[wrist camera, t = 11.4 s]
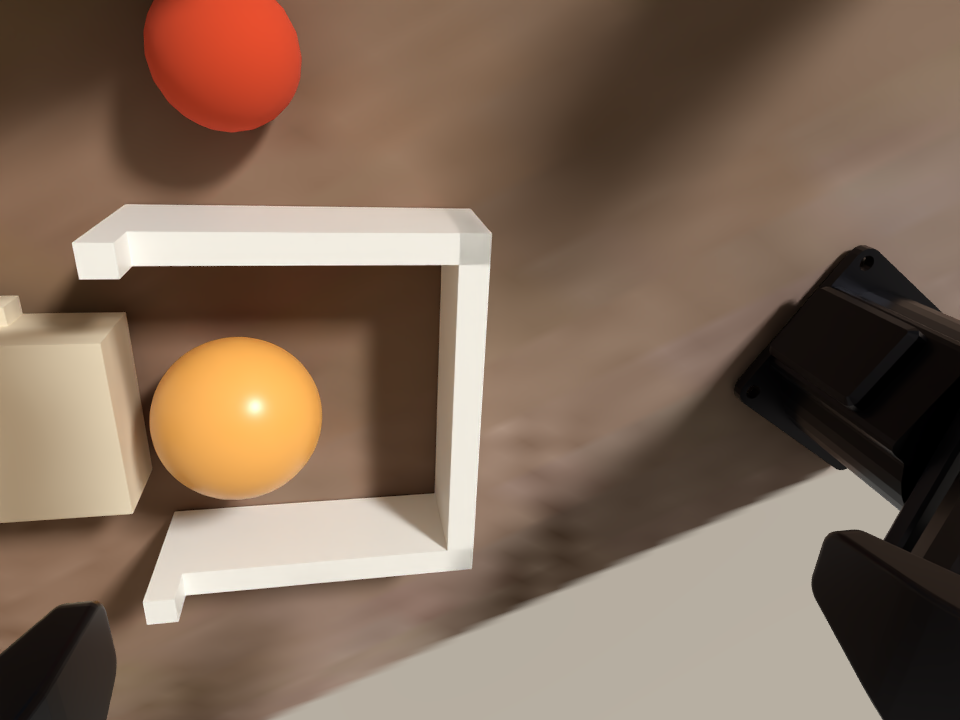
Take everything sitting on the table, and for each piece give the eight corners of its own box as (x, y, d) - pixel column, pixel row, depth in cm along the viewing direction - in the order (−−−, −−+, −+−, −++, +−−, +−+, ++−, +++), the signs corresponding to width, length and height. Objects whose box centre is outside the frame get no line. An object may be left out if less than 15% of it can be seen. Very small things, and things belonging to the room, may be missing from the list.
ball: (79, 411, 17) (197, 349, 21) (177, 550, 18) (274, 466, 22) (188, 347, 15) (297, 291, 19) (293, 507, 16) (377, 422, 20)
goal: (470, 208, 19) (500, 244, 16) (456, 510, 24) (477, 591, 20) (125, 203, 18) (71, 242, 14) (177, 531, 22) (147, 624, 18)
